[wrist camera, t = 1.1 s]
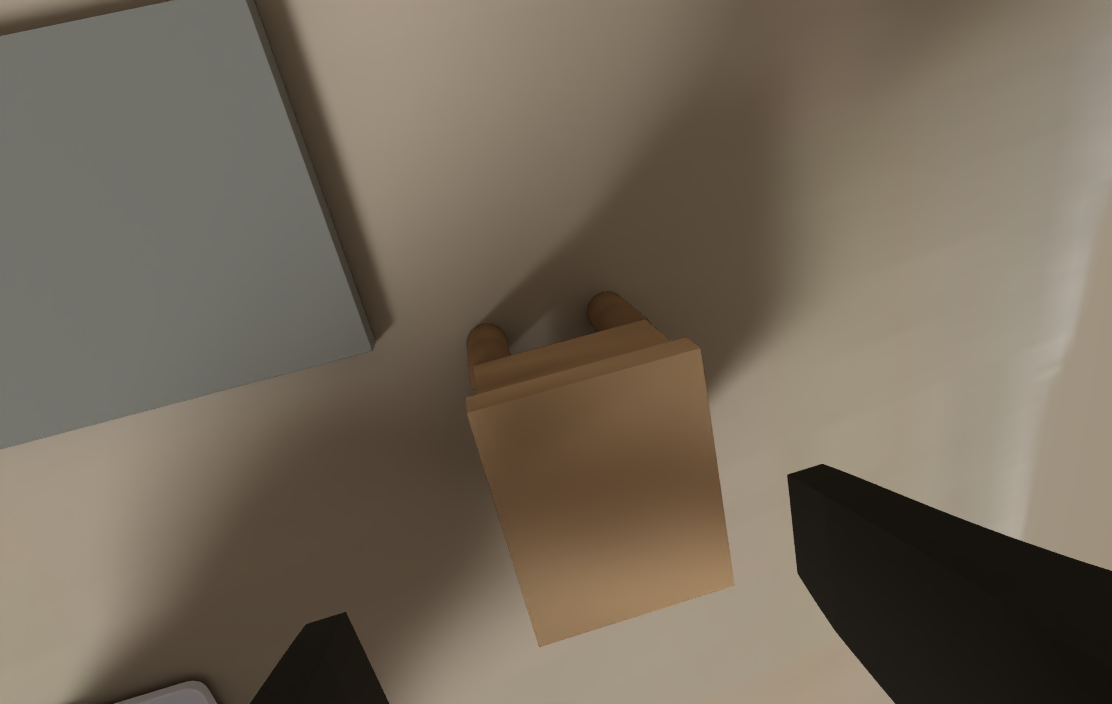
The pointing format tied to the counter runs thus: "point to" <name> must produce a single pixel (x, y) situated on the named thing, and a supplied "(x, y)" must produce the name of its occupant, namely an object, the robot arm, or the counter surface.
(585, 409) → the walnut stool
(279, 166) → the slate mat
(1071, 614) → the robot arm
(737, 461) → the counter surface
